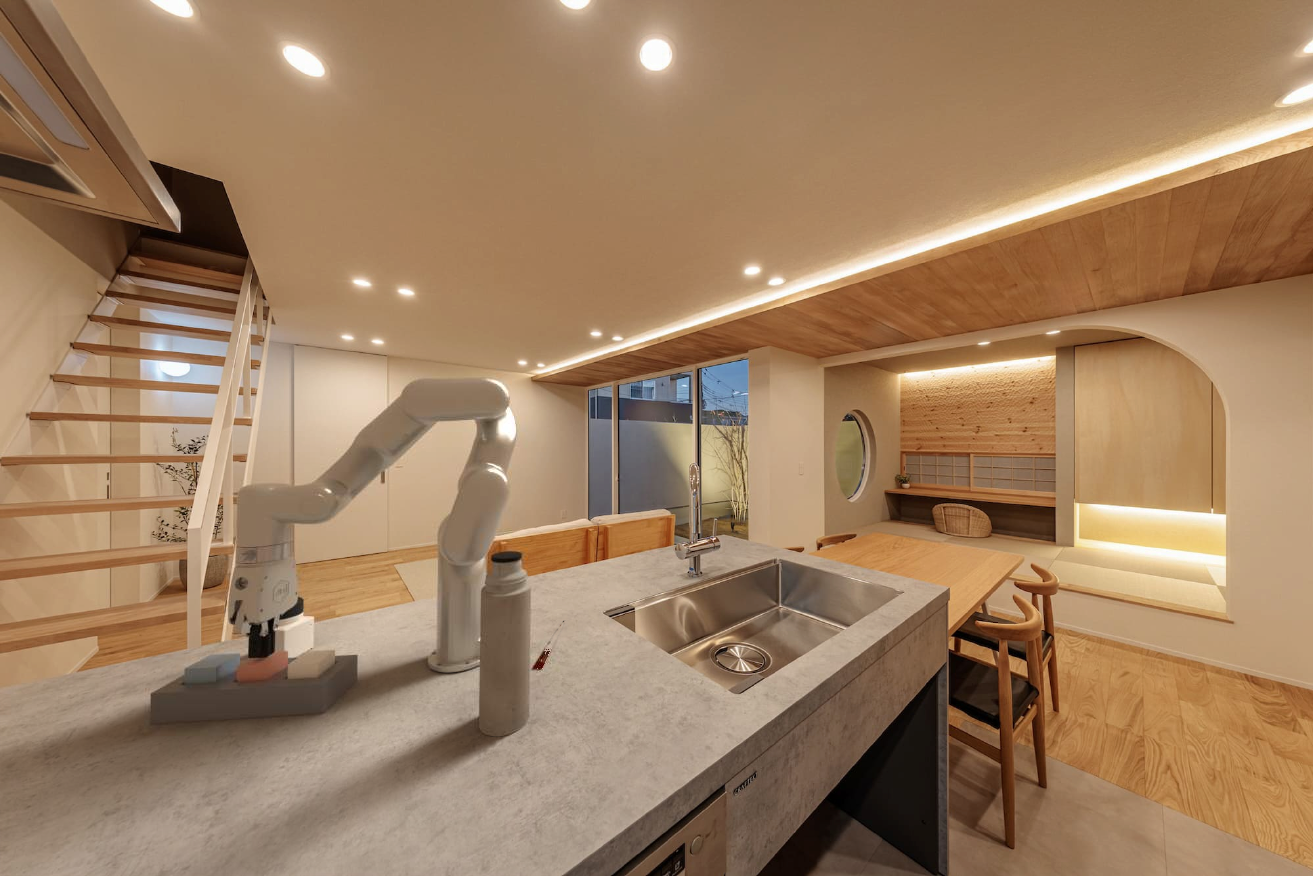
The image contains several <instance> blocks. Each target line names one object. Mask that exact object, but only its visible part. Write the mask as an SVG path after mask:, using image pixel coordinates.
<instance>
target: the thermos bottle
mask: <svg viewBox="0 0 1313 876" xmlns="http://www.w3.org/2000/svg"><path fill="white" fill-rule="evenodd" d="M522 557H523V554H522V552H519V551H516V550H515V551H514V550H508V551H499V552H495V553H493V554H491V556H490V560H491V564H490V565H491V566H490V567H491V568H490V569H491V570H490V571H489V572H487V573H486V580H485V586H484V587H483V588H482V589H481V614H480V665H479V685H478V686H479V689H478V690H479V692H478V695H479V696H478V698H479V699H478V727H479V730H480V732H482V733H483V734H485V735H487V736H491V737H503V736H507V735H510V734H512V733H515V732H517V731H519V730H521V729H523V727H525V725H526V724H527V723H528V720H529V719H530V685H531V683H530V679H531V672H530V671H531V619H532V618H531V611H532V609H531V607H532V606H531V604H532V585H531V583H530V582H529V581H528V577H529V576H528V573H527V570H526V569H523V568H522V566H523V565H522V564H523V563H522V561H523V560H522Z"/></svg>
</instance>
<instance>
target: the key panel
mask: <svg viewBox="0 0 1313 876" xmlns="http://www.w3.org/2000/svg"><path fill="white" fill-rule="evenodd" d="M298 657H299V656H297V657H296V658H288V664H290V663H291V662H292V661H294V660H295V659H297V658H298ZM358 657H359V655H358V654H343V655H335V664H334V665H333V666H332V667H331V668H330V669H328V670H327V671H326V672H325V673H323V674H322V675H321V676H320V677H319V678H302V679H288V666H287V667H286V668H285V669H283V670H282V671H280V672H279V673H278V674H276V675H275V676H273V677H272V678H271V679H269V680H264V681H245V682H237V670H236V671H235V672H233V673H232V674H230V675H228V676H227V677H225V678H224V679H222V680H220V681H219V682H217V683H207V684H187V685H184V676H185V674H183V675H181V676H180V677H177V678H176V679H173V681H171V682H169V683H166V684H165V685H163V686H161V687H160V688H157V689H156V690H155V691H152V692H150V713H149V714H150V715H149V724H150V725H157V724H172V723H173V724H175V723H189V722H204V721H205V722H207V721H208V722H209V721H221V720H222V721H223V720H237V719H238V720H239V719H254V718H255V719H256V718H269V717H270V718H271V717H272V718H273V717H288V716H302V715H303V716H304V715H318V714H319V715H321V714H324V713H325V712H326V711H327V710H329V709H330V708H331V707H332V706H333V705H334V704H335V703H336V702H337V701H338V700H339V699H340V698H341V697H342V696H343V695H344V694H345V693H346V692H347V691H348V690H349V689H350V688H351V687H352V686H353V685H355V683H356V682H357V681H358V662H359V661H358ZM246 660H247V659H240V664H241V663H243V662H245V661H246Z"/></svg>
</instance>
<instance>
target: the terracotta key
mask: <svg viewBox="0 0 1313 876" xmlns="http://www.w3.org/2000/svg"><path fill="white" fill-rule="evenodd" d="M245 660H246V661H245V662H243V663H241V664H240V665H238V666H237V682H245V681H264V680H269V679H271V678H272V677H273V676H275V675H276V674H278V673H279V672H280V671H282V670H283V669H285V668H286V667H287V666H288V651H279V652H274V653H273V654H271V655H270V656H268V657H267V658H249V657H248V659H245Z"/></svg>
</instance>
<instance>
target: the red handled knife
mask: <svg viewBox="0 0 1313 876" xmlns="http://www.w3.org/2000/svg"><path fill="white" fill-rule="evenodd" d="M544 650H545V648H544V649H543V651H542V652H541V653H540V655H539V657H538V658H537V659H536V662H534V665H533V666H532V670H533V669H537V668H538V669H542V668H544V667H543V666H545V665H544V664H546V663H545V661H546V659H547V660H548V658H549V656H548V654H549V652H550V651H547V652H546V651H544ZM546 650H547V649H546ZM548 650H549V649H548ZM545 652H546V654H545ZM550 653H551V652H550ZM549 655H550V654H549ZM547 657H548V658H547ZM541 660H542V661H541ZM546 662H547V661H546ZM538 669H537V670H538ZM542 670H543V669H542Z"/></svg>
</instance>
